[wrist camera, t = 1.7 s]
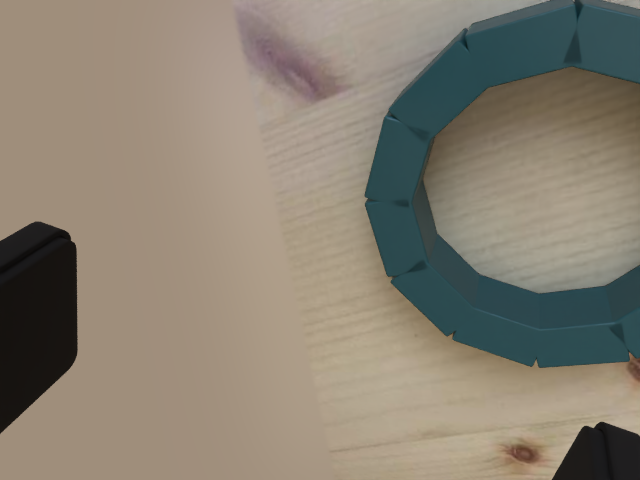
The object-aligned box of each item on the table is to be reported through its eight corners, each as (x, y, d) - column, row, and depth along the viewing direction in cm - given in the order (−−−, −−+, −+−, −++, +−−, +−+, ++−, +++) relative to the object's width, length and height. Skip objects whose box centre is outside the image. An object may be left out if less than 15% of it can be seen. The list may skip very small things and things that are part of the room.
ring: (353, 269, 24) (337, 301, 22) (433, -40, 18) (422, -36, 16) (648, 367, 22) (660, 411, 20) (842, 56, 17) (886, 75, 15)
